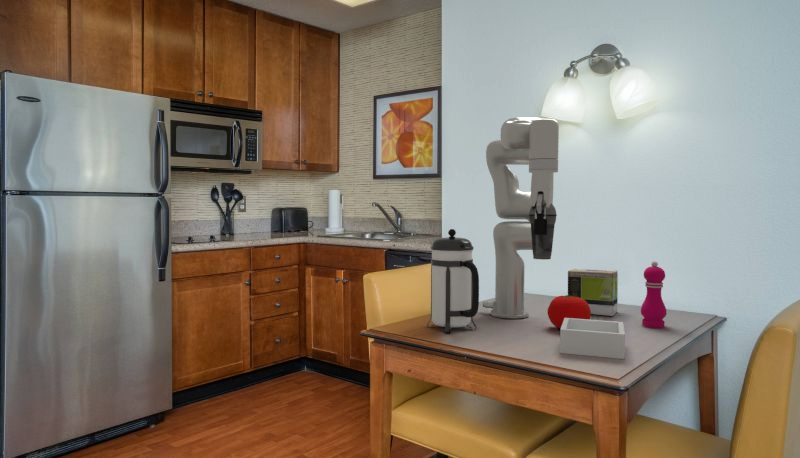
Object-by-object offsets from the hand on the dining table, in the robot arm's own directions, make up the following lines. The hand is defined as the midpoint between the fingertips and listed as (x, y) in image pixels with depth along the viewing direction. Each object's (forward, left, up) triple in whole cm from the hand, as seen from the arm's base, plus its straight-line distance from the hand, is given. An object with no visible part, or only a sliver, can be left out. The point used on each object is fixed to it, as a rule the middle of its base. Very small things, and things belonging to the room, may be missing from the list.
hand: (542, 233), depth 144 cm
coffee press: (-26, +8, -30) cm, 40 cm away
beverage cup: (0, 0, -7) cm, 7 cm away
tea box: (+12, +50, -30) cm, 60 cm away
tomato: (+6, +20, -30) cm, 36 cm away
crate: (+13, 0, -30) cm, 32 cm away
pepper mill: (+30, +34, -30) cm, 54 cm away
